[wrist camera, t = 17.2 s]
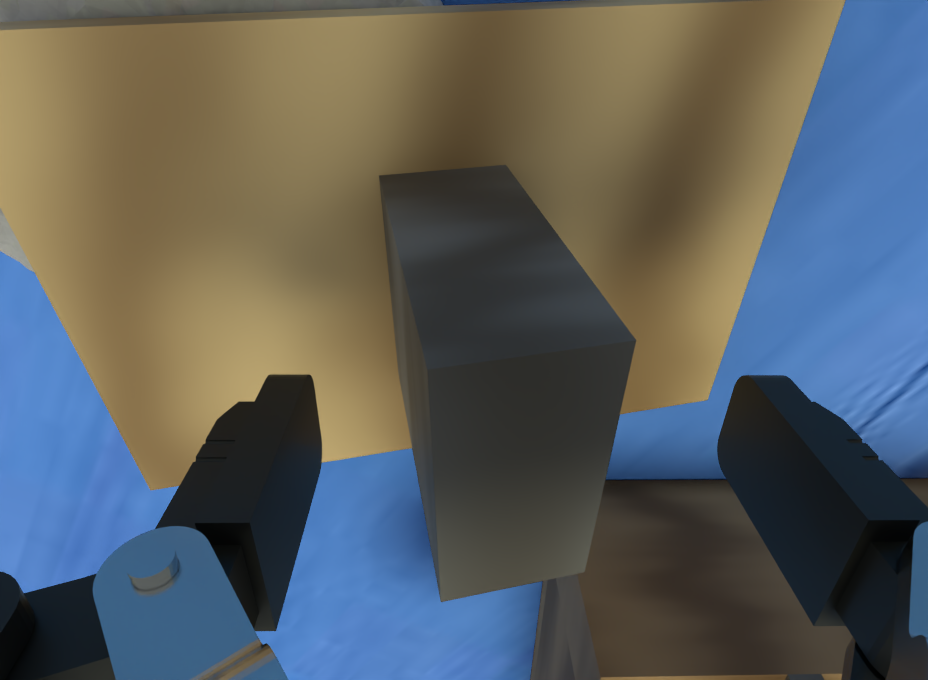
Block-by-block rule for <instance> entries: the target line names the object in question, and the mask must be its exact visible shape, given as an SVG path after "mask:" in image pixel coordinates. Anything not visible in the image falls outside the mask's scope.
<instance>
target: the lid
mask: <svg viewBox="0 0 928 680" xmlns="http://www.w3.org/2000/svg"><path fill="white" fill-rule="evenodd" d="M844 3H845V0H580V1H553V2H526V3H498V4H471V5H444V6H417V7H390V8H363V9H336V10H309V11H282V12H254V13H227V14H200V15H173V16H146V17H119V18H92V19H65V20H38V21H10V22H0V208H1V210H2V212H3V214H4V216H5V217H6V219H7V221H8V223H9V225H10V227H11V229H12V231H13V232H14V234H15V236H16V238H17V240H18V242H19V244H20V246H21V248H22V249H23V251H24V253H25V255H26V257H27V259H28V261H29V263H30V264H31V266H32V268H33V270H34V272H35V274H36V276H37V278H38V280H39V281H40V283H41V285H42V287H43V289H44V291H45V293H46V295H47V296H48V298H49V300H50V302H51V304H52V306H53V308H54V310H55V311H56V313H57V315H58V317H59V319H60V321H61V323H62V325H63V327H64V328H65V330H66V332H67V334H68V336H69V338H70V340H71V342H72V343H73V345H74V347H75V349H76V351H77V353H78V355H79V357H80V359H81V360H82V362H83V364H84V366H85V368H86V370H87V372H88V374H89V375H90V377H91V379H92V381H93V383H94V385H95V387H96V389H97V390H98V392H99V394H100V396H101V398H102V400H103V402H104V404H105V406H106V407H107V409H108V411H109V413H110V415H111V417H112V419H113V421H114V422H115V424H116V426H117V428H118V430H119V432H120V434H121V436H122V437H123V439H124V441H125V443H126V445H127V447H128V449H129V451H130V453H131V454H132V456H133V458H134V460H135V462H136V464H137V466H138V468H139V469H140V471H141V473H142V475H143V477H144V479H145V481H146V483H147V485H148V486H149V488H150V490H156V489H162V488H168V487H174V486H180V484H181V482H182V480H183V479H184V477H185V475H186V473H187V472H188V470H189V468H190V466H191V465H192V463H193V462H195V461H196V456H197V454H198V452H199V450H200V449H201V447H202V445H203V444H205V440H206V438H207V436H208V434H209V433H210V431H211V429H212V427H213V426H214V424H215V422H216V420H217V419H218V418H219V417H220V416H222V415H223V414H224V413H225V412H226V411H228V410H229V409H230V408H231V407H233V406H234V405H235V404H236V403H237V402H239V401H255V400H256V398H257V396H258V394H259V392H260V389H261V387H262V385H263V383H264V381H265V379H266V378H267V376H268V375H270V374H309V375H311V376H312V378H313V382H314V387H315V394H316V401H317V409H318V416H319V423H320V430H321V437H322V462H328V461H335V460H341V459H347V458H353V457H359V456H365V455H372V454H378V453H384V452H390V451H396V450H402V449H409V448H412V449H413V455H414V460H415V466H416V471H417V476H418V482H419V487H420V492H421V498H422V503H423V509H424V514H425V519H426V525H427V530H428V535H429V541H430V546H431V552H432V557H433V562H434V568H435V573H436V578H437V584H438V589H439V595H440V600H441V602H443V601H448V600H453V599H458V598H463V597H467V596H472V595H477V594H482V593H487V592H492V591H496V590H501V589H506V588H511V587H516V586H520V585H525V584H530V583H535V582H540V581H544V580H549V579H554V578H559V577H564V576H569V575H573V574H578V573H583V572H585V568H586V564H587V559H588V555H589V550H590V546H591V541H592V537H593V533H594V528H595V524H596V519H597V515H598V510H599V506H600V501H601V497H602V492H603V488H604V483H605V479H606V474H607V470H608V465H609V461H610V456H611V452H612V447H613V443H614V438H615V434H616V429H617V425H618V420H619V416H620V414H624V413H631V412H637V411H643V410H649V409H655V408H661V407H668V406H674V405H680V404H686V403H692V402H698V401H705V400H708V397H709V394H710V391H711V388H712V385H713V382H714V380H715V377H716V374H717V371H718V368H719V365H720V362H721V359H722V356H723V354H724V351H725V348H726V345H727V342H728V339H729V336H730V333H731V330H732V327H733V325H734V322H735V319H736V316H737V313H738V310H739V307H740V304H741V301H742V298H743V296H744V293H745V290H746V287H747V284H748V281H749V278H750V275H751V272H752V270H753V267H754V264H755V261H756V258H757V255H758V252H759V249H760V246H761V243H762V241H763V238H764V235H765V232H766V229H767V226H768V223H769V220H770V217H771V215H772V212H773V209H774V206H775V203H776V200H777V197H778V194H779V191H780V188H781V186H782V183H783V180H784V177H785V174H786V171H787V168H788V165H789V162H790V160H791V157H792V154H793V151H794V148H795V145H796V142H797V139H798V136H799V133H800V131H801V128H802V125H803V122H804V119H805V116H806V113H807V110H808V107H809V105H810V102H811V99H812V96H813V93H814V90H815V87H816V84H817V81H818V78H819V76H820V73H821V70H822V67H823V64H824V61H825V58H826V55H827V52H828V49H829V47H830V44H831V41H832V38H833V35H834V32H835V29H836V26H837V23H838V21H839V18H840V15H841V12H842V9H843V6H844ZM322 462H321V463H322Z"/></svg>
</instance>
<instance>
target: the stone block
mask: <svg viewBox="0 0 928 680" xmlns="http://www.w3.org/2000/svg"><path fill="white" fill-rule="evenodd" d="M417 6H444V5H443V3H442V2H441V0H0V22H10V21H38V20H65V19H92V18H119V17H146V16H173V15H200V14H227V13H254V12H282V11H309V10H336V9H363V8H390V7H417ZM0 251H2V252H3V253H5V254H6V255H8V256H10V257H12V258H14V259H15V260H17V261H19V262H20V263H22V264H23V265H24V266H25V267H26V268H28V269H29V270H31V271H33V272H34V270H33V268H32V266H31V264H30V263H29V261H28V259H27V257H26V255H25V253H24V251H23V249H22V248H21V246H20V244H19V242H18V240H17V238H16V236H15V234H14V232H13V231H12V229H11V227H10V225H9V223H8V221H7V219H6V217H5V216H4V214H3V212H2V210H1V208H0Z"/></svg>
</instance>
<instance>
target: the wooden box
mask: <svg viewBox="0 0 928 680" xmlns="http://www.w3.org/2000/svg"><path fill="white" fill-rule="evenodd" d="M901 480H902V481H903V482H904V483H905V484H906V485H907V486H908V487H909V489H910V490H911V491H912V492H913V493H914V494H915V495H916V496H917V497H918V498H919V499H920V500H921V501H922V502H923V503H924V504H925V505H926V506H927V507H928V479H901ZM852 637H853V636H852V635H851V633H850V632H849V630H848V628H847V627H846V626H813V624H812V623H811V621H810V619H809V617H808V616H807V614H806V612H805V611H804V609H803V607H802V606H801V604H800V602H799V601H798V599H797V597H796V596H795V594H794V592H793V590H792V589H791V587H790V585H789V584H788V582H787V580H786V579H785V577H784V575H783V574H782V572H781V570H780V569H779V567H778V565H777V563H776V562H775V560H774V558H773V557H772V555H771V553H770V552H769V550H768V548H767V547H766V545H765V543H764V542H763V540H762V538H761V536H760V535H759V533H758V531H757V530H756V528H755V526H754V525H753V523H752V521H751V520H750V518H749V516H748V515H747V513H746V511H745V509H744V508H743V506H742V504H741V503H740V501H739V499H738V498H737V496H736V494H735V493H734V491H733V489H732V487H731V486H730V484H729V482H728V481H727V480H605V483H604V488H603V492H602V497H601V501H600V506H599V510H598V515H597V519H596V524H595V528H594V533H593V537H592V541H591V546H590V550H589V555H588V559H587V564H586V568H585V572H583V573H578V574H573V575H569V576H564V577H559V578H554V579H549V580H544V581H543V584H542V592H541V600H540V608H539V615H538V623H537V631H536V639H535V646H534V654H533V662H532V670H531V678H530V680H841V678H842V671H843V664H844V658H845V652H846V648H847V646H848V644H849V643H850V641H851V639H852Z"/></svg>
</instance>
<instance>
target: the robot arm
mask: <svg viewBox="0 0 928 680" xmlns="http://www.w3.org/2000/svg"><path fill="white" fill-rule="evenodd" d="M717 452H718V460H719V464H720V467H721V470H722V472H723V474H724V476H725V477H726V479H727V481H728V482H729V484H730V486H731V487H732V489H733V491H734V493H735V494H736V496H737V498H738V499H739V501H740V503H741V504H742V506H743V508H744V509H745V511H746V513H747V515H748V516H749V518H750V520H751V521H752V523H753V525H754V526H755V528H756V530H757V531H758V533H759V535H760V536H761V538H762V540H763V542H764V543H765V545H766V547H767V548H768V550H769V552H770V553H771V555H772V557H773V558H774V560H775V562H776V563H777V565H778V567H779V569H780V570H781V572H782V574H783V575H784V577H785V579H786V580H787V582H788V584H789V585H790V587H791V589H792V590H793V592H794V594H795V596H796V597H797V599H798V601H799V602H800V604H801V606H802V607H803V609H804V611H805V612H806V614H807V616H808V617H809V619H810V621H811V623H812V624H813V626H846V627H847V628H848V630H849V632H850V633H851V635H852V636H853V637H852V639H851V641H850V643H849V644H848V646H847V648H846V652H845V658H844V664H843V671H842V678H841V680H928V507H927V506H926V505H925V504H924V503H923V502H922V501H921V500H920V499H919V498H918V497H917V496H916V495H915V494H914V493H913V492H912V491H911V490H910V489H909V487H908V486H907V485H906V484H905V483H904V482H903V481H902V480H901V479H900V478H899V477H898V476H897V475H896V474H895V473H894V472H893V471H892V470H891V469H890V468H889V467H888V466H887V465H886V464H885V463H884V462H883V460H878V455H877V454H876V453H875V452H874V451H873V450H872V449H871V448H870V447H869V446H868V445H867V444H866V443H862V439H861V438H860V437H859V436H858V434H857V433H856V432H855V431H854V430H853V429H852V428H851V427H850V426H849V425H848V424H847V423H846V422H845V421H844V420H843V419H842V418H840V417H839V416H837V415H835V414H834V413H832V412H831V411H829V410H827V409H826V408H824V407H823V406H821V405H819V404H818V403H816V402H811V401H810V400H809V399H808V398H807V396H806V395H805V394H804V393H803V392H802V391H801V390H800V389H799V388H798V387H797V386H796V385H795V383H794V382H793V381H792V380H791V379H790V378H788V377H787V376H783V375H746V376H741V377H740V378H739V379H738V380H737V382H736V384H735V386H734V389H733V393H732V396H731V399H730V403H729V406H728V409H727V413H726V416H725V419H724V422H723V426H722V429H721V432H720V436H719V439H718V447H717ZM321 462H322V437H321V430H320V423H319V416H318V409H317V401H316V394H315V387H314V382H313V378H312V376H311V375H309V374H270V375H268V376H267V378H266V379H265V381H264V383H263V385H262V387H261V389H260V392H259V394H258V396H257V398H256V400H255V401H239V402H237V403H236V404H235V405H234V406H233V407H231V408H230V409H229V410H228V411H226V412H225V413H224V414H223V415H222V416H220V417H219V418H218V419H217V420H216V422H215V424H214V426H213V427H212V429H211V431H210V433H209V434H208V436H207V438H206V440H205V444H203V445H202V447H201V449H200V450H199V452H198V454H197V456H196V461H195V462H193V463H192V465H191V466H190V468H189V470H188V472H187V473H186V475H185V477H184V479H183V480H182V482H181V484H180V486H179V488H178V489H177V491H176V493H175V495H174V496H173V498H172V500H171V502H170V504H169V505H168V507H167V509H166V511H165V512H164V514H163V516H162V518H161V520H160V521H159V523H158V525H157V527H156V528H155V529H154V530H151V531H148V532H145V533H143V534H140V535H138V536H137V537H135V538H133V539H131V540H129V541H128V542H126V543H125V544H123V545H122V546H120V547H119V548H118V549H117V550H115V551H114V552H113V553H112V554H111V555H110V556H109V557H108V558H107V559H106V560H105V562H104V563H103V564H102V566H101V567H100V569H99V571H98V572H97V574H94V575H91V576H88V577H84V578H81V579H77V580H73V581H69V582H66V583H62V584H58V585H54V586H51V587H47V588H43V589H39V590H35V591H32V592H28V593H23V592H22V590H21V588H20V586H19V585H18V583H17V581H16V579H14V578H13V577H12V576H11V575H9V574H6V573H4V572H0V680H288V678H287V676H286V674H285V672H284V670H283V669H282V667H281V665H280V663H279V661H278V659H277V657H276V656H275V654H274V652H273V651H272V649H271V648H270V646H269V645H268V644H267V643H266V644H264V645H262V643H261V642H260V640H259V638H258V636H257V634H256V632H255V631H276V629H277V625H278V622H279V618H280V615H281V611H282V607H283V604H284V600H285V597H286V593H287V589H288V586H289V582H290V579H291V575H292V571H293V568H294V564H295V560H296V557H297V553H298V550H299V546H300V542H301V539H302V535H303V532H304V528H305V524H306V521H307V517H308V514H309V510H310V506H311V503H312V499H313V496H314V492H315V488H316V485H317V481H318V477H319V474H320V469H321Z"/></svg>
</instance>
